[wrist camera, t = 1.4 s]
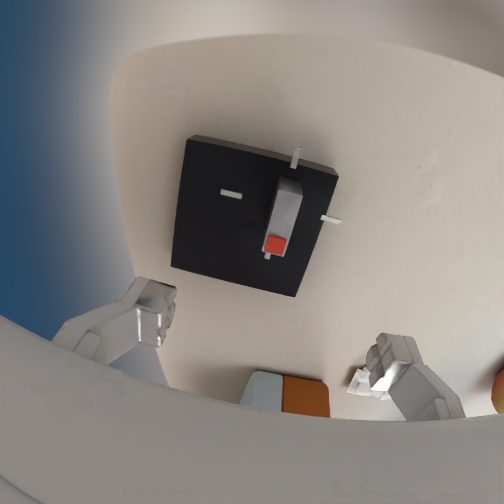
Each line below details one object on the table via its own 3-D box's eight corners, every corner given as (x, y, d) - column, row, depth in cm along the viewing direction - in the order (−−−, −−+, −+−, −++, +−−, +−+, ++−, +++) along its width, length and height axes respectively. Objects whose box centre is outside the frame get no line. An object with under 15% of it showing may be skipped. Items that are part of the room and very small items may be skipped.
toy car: (403, 386, 31) (406, 401, 29) (344, 387, 32) (346, 403, 30) (418, 363, 29) (423, 378, 27) (355, 363, 29) (358, 379, 27)
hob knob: (279, 175, 19) (278, 190, 16) (300, 180, 19) (303, 197, 16) (264, 230, 21) (260, 253, 18) (284, 235, 21) (283, 259, 18)
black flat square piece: (198, 119, 19) (188, 122, 17) (353, 159, 20) (360, 166, 18) (178, 254, 25) (169, 267, 23) (307, 285, 25) (308, 302, 23)
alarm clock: (280, 441, 40) (270, 558, 22) (225, 431, 40) (203, 551, 22) (330, 377, 31) (336, 555, 13) (254, 363, 31) (226, 554, 13)
